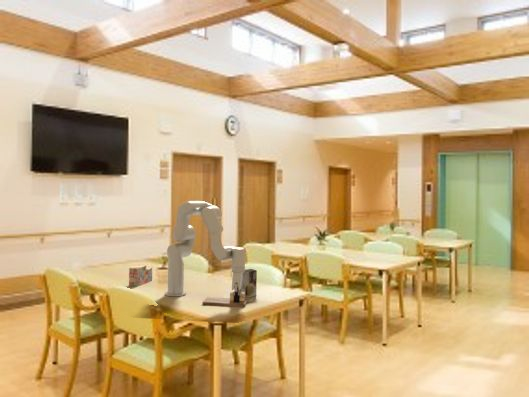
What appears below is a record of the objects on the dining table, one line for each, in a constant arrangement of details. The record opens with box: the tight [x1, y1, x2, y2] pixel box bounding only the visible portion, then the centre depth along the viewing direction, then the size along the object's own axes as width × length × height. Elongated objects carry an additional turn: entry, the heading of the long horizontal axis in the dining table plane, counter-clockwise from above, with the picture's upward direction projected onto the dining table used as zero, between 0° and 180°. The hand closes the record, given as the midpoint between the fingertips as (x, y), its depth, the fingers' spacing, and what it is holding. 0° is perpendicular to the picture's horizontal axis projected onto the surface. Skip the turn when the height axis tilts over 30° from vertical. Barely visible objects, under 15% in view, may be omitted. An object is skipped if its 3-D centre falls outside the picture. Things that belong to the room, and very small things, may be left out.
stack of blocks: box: [128, 264, 153, 288], centre depth 318 cm, size 21×6×12 cm, turn 167°
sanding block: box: [229, 290, 246, 303], centre depth 267 cm, size 5×8×5 cm, turn 85°
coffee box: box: [241, 268, 258, 299], centre depth 288 cm, size 9×6×16 cm
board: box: [201, 296, 249, 308], centre depth 268 cm, size 12×24×2 cm, turn 84°
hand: (237, 300), depth 267 cm, fingers closed on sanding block, 5 cm apart
